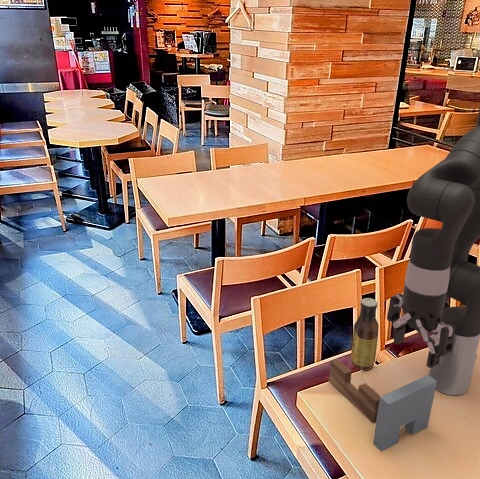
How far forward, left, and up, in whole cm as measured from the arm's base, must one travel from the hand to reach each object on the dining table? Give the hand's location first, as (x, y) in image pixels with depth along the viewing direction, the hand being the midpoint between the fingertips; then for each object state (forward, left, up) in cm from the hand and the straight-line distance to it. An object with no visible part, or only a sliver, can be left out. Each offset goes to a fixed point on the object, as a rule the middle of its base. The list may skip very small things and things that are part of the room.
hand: (414, 353), depth 92 cm
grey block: (0, 0, -22) cm, 22 cm away
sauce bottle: (-9, -22, -22) cm, 33 cm away
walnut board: (+2, -13, -22) cm, 26 cm away
